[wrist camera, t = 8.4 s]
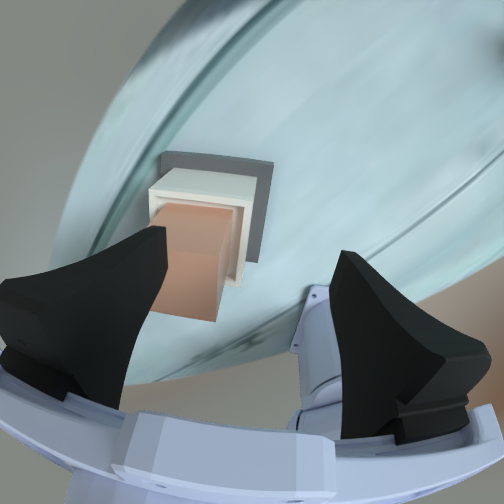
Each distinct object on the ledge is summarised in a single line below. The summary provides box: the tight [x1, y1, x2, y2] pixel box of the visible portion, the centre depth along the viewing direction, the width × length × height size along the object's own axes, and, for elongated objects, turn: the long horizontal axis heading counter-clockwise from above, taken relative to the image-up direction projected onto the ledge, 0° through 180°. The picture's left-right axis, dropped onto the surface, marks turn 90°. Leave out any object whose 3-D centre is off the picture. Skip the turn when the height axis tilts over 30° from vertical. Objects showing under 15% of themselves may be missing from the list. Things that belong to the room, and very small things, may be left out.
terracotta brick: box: [146, 202, 233, 322], centre depth 15 cm, size 4×4×5 cm
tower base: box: [149, 151, 274, 287], centre depth 19 cm, size 8×8×6 cm
